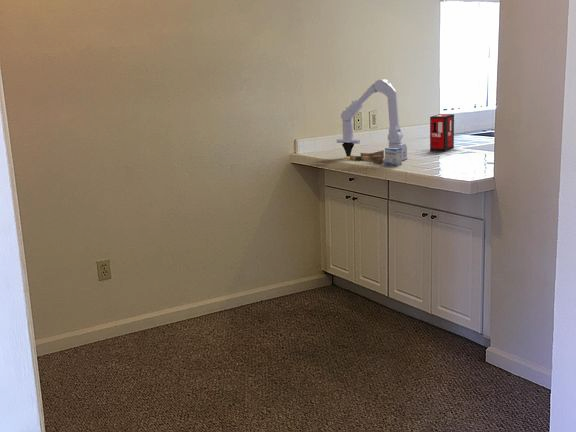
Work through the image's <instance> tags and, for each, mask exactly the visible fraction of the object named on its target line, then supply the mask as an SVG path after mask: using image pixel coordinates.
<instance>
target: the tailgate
mask: <svg viewBox="0 0 576 432" xmlns="http://www.w3.org/2000/svg"><path fill="white" fill-rule="evenodd" d="M351 156H356V155H354V154H351ZM343 159H344V160H350V156H344V157H343V158H342V160H343Z"/></svg>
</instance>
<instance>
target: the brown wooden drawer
mask: <svg viewBox="0 0 576 432" xmlns="http://www.w3.org/2000/svg"><path fill="white" fill-rule="evenodd" d="M375 155H376V156H382V158H383V159H385V149H384V150H380V151H379V150H378V151H374V152H360V155H355V156H352V154H351V155H350V159H349V160H350V161H357V162H358V161H364V162H365V161H366V162H373V156H375Z"/></svg>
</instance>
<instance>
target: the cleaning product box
mask: <svg viewBox="0 0 576 432" xmlns="http://www.w3.org/2000/svg"><path fill="white" fill-rule="evenodd" d="M454 148H455V114H454V113H453V114H451V113H444V114H443V113H441V114H440V113H439V114H436V115H433V116H432V115H431V116H430V117H429V151H430V152H442V153H443V152H447V151H450V150H451V149H454Z"/></svg>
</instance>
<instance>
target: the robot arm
mask: <svg viewBox="0 0 576 432" xmlns="http://www.w3.org/2000/svg"><path fill="white" fill-rule="evenodd" d="M376 93H382V94H383V95H385V96H386V98H387V107H388V109H387V111H388V123H389V128H388V135H387V141H388V148H401V149H402V161H404V160H407V159H408V147H407V146H408V145H407V144H405V143H403V141H402V139H403V136H404V135H403V132H402V129H401V127H400V123H399V122H400V121H399V109H398V107H399V106H398V94H397V90H396V89H395V88H394V86H393V85H392V83H391V82H390V81H389V80H388V79H385V78H383V79H377V80H375V81H374V83H372V84H371V85H369V87H368V88H367V89H366V90H365V92H364V93H362V95H361V96H360V97H359V99H354V100H352V101H351V104H350V105H349V106H346V108H345V110H342V112H341V113H340V118H341V121H342V122H341V123H342V124H341V125H342V138H338V139H336V144H341V146H342V148H343V149H344V151H345V155H346V156H345V157H348V156H350V155H351V156H352V150H353V148H354V146H355V144H357V145H359V144H361V140H360V139H356V138H355V139H354V128H353V127H354V123H353V119H354V116H356V115H357V114H358V112H360V110H361V109H363V107H364V106H363V105H364V103H365V102H366V101H367V100H368V99H369V98H370V97H371V96H372V95H373V94H376Z"/></svg>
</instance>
